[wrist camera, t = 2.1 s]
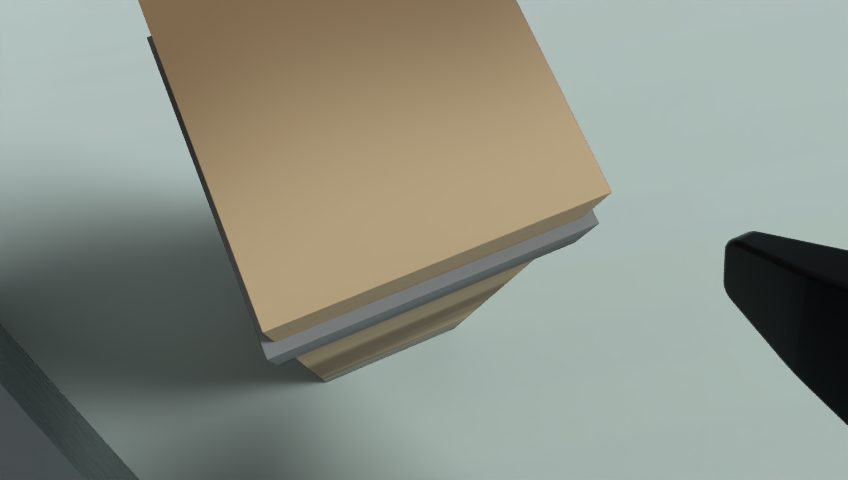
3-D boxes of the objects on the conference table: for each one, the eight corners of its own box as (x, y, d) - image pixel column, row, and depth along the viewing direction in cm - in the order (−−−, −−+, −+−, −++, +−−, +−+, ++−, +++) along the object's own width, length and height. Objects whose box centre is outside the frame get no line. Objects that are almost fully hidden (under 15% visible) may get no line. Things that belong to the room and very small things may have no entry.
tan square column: (461, 331, 20) (630, 198, 7) (323, 389, 19) (253, 352, 7) (404, 201, 21) (471, -116, 8) (270, 252, 20) (119, -12, 8)
